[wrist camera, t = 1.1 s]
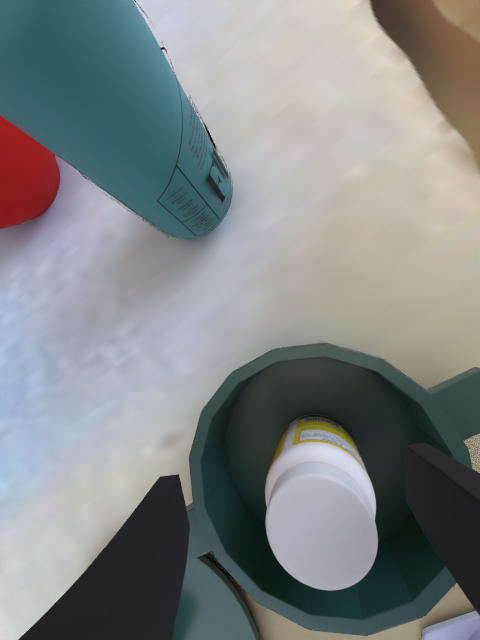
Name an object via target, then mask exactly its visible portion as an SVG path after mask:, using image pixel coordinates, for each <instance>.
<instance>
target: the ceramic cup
mask: <svg viewBox="0 0 480 640" xmlns="http://www.w3.org/2000/svg"><path fill="white" fill-rule="evenodd" d="M59 181H60V173H59V168H58V165H57V162H56V158H55V154H54V153H53V152H51V151H50V150H49V149H47V148H46V147H44V146H43V145H42V144H40V143H39V142H37V141H36V140H35V139H33V138H32V137H30V136H29V135H27V134H26V133H25V132H23V131H22V130H20V129H19V128H18V127H16V126H15V125H13V124H12V123H11V122H9V121H8V120H6V119H5V118H3V117H2V116H1V115H0V229H2V228H6V227H10V226H14V225H17V224H20V223H22V222H25V221H27V220H30V219H34V218H36V217H38V216H40V215H41V214H42V213H44V212H45V211H46V210H47V209H48V208H49V207H50V205H51V204H52V202H53V201H54V198H55V196H56V194H57V191H58V188H59Z"/></svg>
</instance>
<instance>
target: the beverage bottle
mask: <svg viewBox="0 0 480 640" xmlns="http://www.w3.org/2000/svg"><path fill="white" fill-rule="evenodd" d="M134 1H135V0H134ZM134 1H133V0H0V115H1V116H2V117H3V118H5V119H6V120H8V121H9V122H11V123H12V124H13V125H15V126H16V127H18V128H19V129H20V130H22V131H23V132H25V133H26V134H27V135H29V136H30V137H32V138H33V139H35V140H36V141H37V142H39V143H40V144H42V145H43V146H44V147H46V148H47V149H49V150H50V151H51V152H53V153H54V154H56V155H57V156H59V157H60V158H61V159H63V160H64V161H66V162H67V163H68V164H70V165H71V166H73V167H74V168H75V169H77V170H78V171H79V172H80V173H83V174H84V175H85V176H87V177H88V178H89V179H90V180H92V181H93V182H94V184H95V185H96V184H97V186H98V187H100V188H101V189H103V190H104V191H106V192H107V193H109V194H110V195H111V196H113V197H114V198H116V199H117V200H119V201H120V202H122V204H124V205H125V206H126V207H128V208H129V209H131V210H132V211H135V213H136V214H139V216H142V218H143V219H146V221H149V223H150V225H151V223H152V226H154V225H155V226H156V228H157V229H158V228H159V229H160V231H161V230H162V231H163V233H164V232H165V233H166V234H168V235H170V236H173V237H176V238H183V239H193V238H198V237H201V236H203V235H205V234H207V233H209V232H211V231H212V230H213V229H215V228H216V227H217V226H218V225H219V224H220V223H221V221H222V220H223V219H224V217H225V215H226V214H227V211H228V209H229V206H230V203H231V198H232V192H233V184H232V189H231V181H230V180H231V179H230V178H232V177H229V174H231V173H229V174H228V170H226V168H225V166H224V164H223V163H222V161H221V159H222V158H221V157H220V156H219V155H218V153H217V151H218V150H217V149H216V147H217V146H215V144H214V142H213V140H212V139H213V138H211V135H210V133H209V131H208V129H207V127H206V125H205V123H204V122H203V123H204V126H205V128H203V126H202V124H201V123H202V122H200V119H202V118H200V119H199V117H198V116H197V114H196V113H195V111H196V110H198V109H196V108H195V109H196V110H195V111H194V107H192V105H193V104H192V105H191V104H190V102H191V101H190V102H189V100H188V98H187V96H186V94H185V92H184V91H183V89H182V87H181V85H180V83H179V81H178V79H177V78H176V75H175V74H174V73H175V72H173V70H174V69H173V70H172V68H171V67H170V65H169V63H168V61H167V59H166V57H165V55H164V54H163V52H162V50H163V49H165V48H164V47H163V48H160V46H159V45H158V43H157V41H156V39H155V37H154V36H153V34H152V32H151V30H150V28H149V27H148V25H147V23H146V21H145V20H144V18H143V17H142V15H141V14H140V12H139V11H138V9H137V7H136V5H135V3H134ZM135 2H136V1H135ZM136 3H137V2H136ZM138 6H139V5H138ZM139 7H140V6H139ZM140 8H141V7H140ZM142 11H143V10H142ZM143 12H144V11H143ZM145 15H146V14H145ZM146 16H147V15H146ZM154 29H155V28H154ZM162 44H163V43H162ZM165 51H166V53H167V50H166V49H165ZM169 59H170V58H169ZM170 61H171V60H170ZM171 64H172V63H171ZM172 67H173V66H172ZM188 93H189V92H188ZM189 95H190V94H189ZM189 98H191V97H189ZM194 105H195V104H194ZM197 113H199V112H198V111H197ZM200 116H201V115H200ZM202 120H203V119H202ZM205 129H206V131H207V132H206V131H205ZM207 133H208V135H207ZM209 138H210V139H209ZM215 149H216V150H217V151H216V150H215ZM219 152H220V151H219ZM220 158H221V159H220ZM222 160H223V159H222ZM226 167H227V166H226ZM85 176H84V177H85ZM85 178H86V177H85ZM88 178H87V179H88ZM89 179H88V180H89ZM92 181H91V182H92ZM108 197H109V196H108ZM111 199H112V198H111ZM118 204H119V203H118ZM121 206H122V205H121ZM123 207H124V206H123ZM128 211H129V210H128ZM135 213H134V214H135ZM136 214H135V215H136ZM136 216H137V215H136ZM139 218H140V217H139ZM143 221H144V220H143ZM149 223H148V222H147V224H149ZM157 229H156V230H157ZM158 231H159V230H158ZM165 233H164V234H165ZM168 235H167V236H168ZM168 237H169V236H168Z"/></svg>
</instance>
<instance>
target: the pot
mask: <svg viewBox="0 0 480 640" xmlns="http://www.w3.org/2000/svg"><path fill="white" fill-rule="evenodd" d="M308 414H321V415H325V416H328V417H331V418H333V419H335V420H336V421H338V422H339V423H341V424H342V425H343V426H344V427H345V428H346V429H347V430H348V432H349V433H350V434H351V436H352V438H353V440H354V442H355V444H356V447H357V449H358V451H359V454H360V456H361V459H362V461H363V463H364V466H365V468H366V471H367V473H368V476H369V478H370V480H371V483H372V486H373V489H374V494H375V499H376V515H375V524H376V529H377V535H378V547H377V554H376V558H375V561H374V563H373V565H372V567H371V569H370V570H369V572H368V573H367V574H366V575H365V577H363V578H362V579H361V580H360V581H359V582H357V583H356V584H354V585H352V586H350V587H348V588H344V589H340V590H321V589H317V588H313V587H310V586H308V585H306V584H304V583H302V582H300V581H298V580H297V579H295V578H294V577H293V576H292V575H290V574H289V573H288V572H287V571H286V570H285V569H284V568H283V567H282V565H281V564H280V563H279V562H278V560H277V558H276V557H275V555H274V553H273V551H272V549H271V547H270V544H269V541H268V538H267V533H266V524H265V523H266V511H267V505H266V499H265V486H266V479H267V475H268V472H269V469H270V467H271V464H272V461H273V459H274V456H275V453H276V450H277V447H278V444H279V441H280V438H281V436H282V434H283V432H284V430H285V429H286V427H287V426H288V425H289V424H290V423H291V422H292V421H294V420H295V419H297V418H299V417H301V416H304V415H308ZM479 433H480V368H478V367H474V368H472V369H469V370H467V371H465V372H463V373H461V374H459V375H457V376H455V377H453V378H451V379H449V380H447V381H445V382H443V383H440V384H438V385H436V386H434V387H432V388H430V389H428V390H425V389H424V388H423V387H421V386H420V385H419V384H417V383H416V382H414V381H413V380H412V379H410V378H409V377H407V376H406V375H405V374H403V373H402V372H401V371H399V370H398V369H396V368H395V367H394V366H392V365H391V364H389V363H388V362H387V361H385V360H384V359H382V358H380V357H376V356H373V355H369V354H365V353H361V352H358V351H354V350H350V349H347V348H343V347H339V346H335V345H332V344H328V343H317V344H308V345H299V346H291V347H282V348H276V349H273V350H271V351H269V352H267V353H265V354H264V355H262V356H260V357H258V358H256V359H255V360H253V361H251V362H249V363H248V364H246V365H244V366H242V367H240V368H239V369H237V370H235V371H233V372H232V373H231V374H230V375H229V376H228V377H227V378H226V380H225V381H224V382H223V384H222V385H221V386H220V388H219V389H218V390H217V392H216V393H215V394H214V395H213V397H212V398H211V399H210V401H209V402H208V403H207V405H206V406H205V407H204V408H203V410H202V412H201V415H200V419H199V422H198V426H197V430H196V433H195V437H194V441H193V444H192V448H191V452H190V456H189V464H190V475H191V486H192V496H193V503H192V504H190V505H188V506H186V510H187V515H188V520H189V524H190V533H189V545H188V555H187V562H188V561H190V560H193V559H195V558H197V557H199V556H202V555H204V554H206V553H208V552H211V551H213V554H214V556H215V558H216V559H217V561H218V562H219V563H220V564H221V565H222V566H223V567H224V568H225V569H226V570H227V572H228V573H229V574H230V575H231V576H232V577H233V578H234V579H235V580H236V581H237V582H238V583H239V584H240V585H241V587H242V588H243V589H244V590H245V591H246V592H247V593H248V594H249V595H250V596H251V597H252V598H253V599H254V600H255V601H256V602H257V603H259V604H261V605H262V606H264V607H266V608H268V609H270V610H272V611H274V612H276V613H278V614H280V615H281V616H283V617H285V618H287V619H289V620H291V621H293V622H295V623H297V624H299V625H301V626H302V627H304V628H306V629H309V630H314V631H323V632H333V633H342V634H351V635H360V636H368V635H372V634H375V633H378V632H381V631H384V630H387V629H390V628H393V627H396V626H399V625H402V624H405V623H408V622H411V621H414V620H416V619H419V618H422V617H423V616H426V615H427V613H428V612H429V611H430V610H431V609H432V608H433V607H434V606H435V605H436V604H437V603H438V602H439V601H440V600H441V599H442V597H443V596H444V595H445V594H446V593H447V592H448V591H449V590H450V589H451V588H452V587H453V586H454V585H455V584H456V583H457V582H456V581H455V579H454V578H453V576H452V575H451V573H450V572H449V570H448V569H447V567H446V566H445V564H444V563H443V561H442V560H441V559H440V557H439V556H438V554H437V553H436V551H435V550H434V548H433V547H432V545H431V544H430V542H429V541H428V539H427V538H426V536H425V534H424V533H423V531H422V529H421V527H420V525H419V524H418V522H417V520H416V518H415V516H414V514H413V512H412V511H411V509H410V507H409V505H408V503H407V501H406V479H405V445H411V444H419V443H426V444H428V445H430V446H432V447H433V448H435V449H437V450H439V451H441V452H443V453H444V454H446V455H448V456H450V457H451V458H453V459H455V460H457V461H458V462H460V463H462V464H464V465H466V466H467V467H469V468H471V469H472V465H471V459H470V454H469V451H468V448H467V446H466V444H465V443H464V441H463V440H465V439H468V438H470V437H472V436H475V435H477V434H479Z"/></svg>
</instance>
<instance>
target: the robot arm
mask: <svg viewBox="0 0 480 640" xmlns="http://www.w3.org/2000/svg"><path fill="white" fill-rule="evenodd" d="M405 479H406V501H407V503H408V505H409V507H410V509H411V511H412V512H413V514H414V516H415V518H416V520H417V522H418V524H419V525H420V527H421V529H422V531H423V533H424V534H425V536H426V538H427V539H428V541H429V542H430V544H431V545H432V547H433V548H434V550H435V551H436V553H437V554H438V556H439V557H440V559H441V560H442V561H443V563H444V564H445V566H446V567H447V569H448V570H449V572H450V573H451V575H452V576H453V578H454V579H455V581H456V582H457V583H458V585H459V586H460V588H461V589H462V591H463V592H464V594H465V595H466V597H467V598H468V599H469V601H470V602H471V604H472V605H473V607H474V608H475V610H476V611H473V612H470V613H467V614H464V615H461V616H458V617H455V618H452V619H449V620H446V621H443V622H440V623H437V624H434V625H431V626H428V627H425V628H424V629H423V630H422V634H421V636H422V638H423V640H480V473H478V472H476V471H474V470H473V469H471V468H469V467H467V466H466V465H464V464H462V463H460V462H458V461H457V460H455V459H453V458H451V457H450V456H448V455H446V454H444V453H443V452H441V451H439V450H437V449H435V448H433V447H432V446H430V445H428V444H426V443H419V444H411V445H405ZM189 533H190V524H189V520H188V515H187V510H186V506H185V501H184V496H183V492H182V487H181V482H180V478H179V474H178V475H170V476H162V477H160V478H159V479H158V480H157V481H156V483H155V484H154V485H153V486H152V488H151V489H150V490H149V492H148V493H147V494H146V496H145V497H144V498H143V500H142V501H141V502H140V504H139V505H138V506H137V508H136V509H135V510H134V512H133V513H132V514H131V516H130V517H129V518H128V519H127V521H126V522H125V523H124V525H123V526H122V527H121V528H120V530H119V531H118V532H117V534H116V535H115V536H114V537H113V539H112V540H111V541H110V542H109V544H108V545H107V546H106V547H105V548H104V549H103V551H102V552H101V553H100V554H99V555H98V557H97V558H96V559H95V560H94V561H93V562H92V564H91V565H90V566H89V567H88V568H87V570H86V571H85V572H84V573H83V574H82V575H81V576H80V577H79V579H78V580H77V581H76V582H75V583H74V584H73V585H72V586H71V587H70V588H69V589H68V591H67V592H66V593H65V594H64V595H63V596H62V597H61V598H60V599H59V600H58V601H57V602H56V603H55V604H54V605H53V606H52V607H51V608H50V609H49V610H48V611H47V612H46V613H45V614H44V615H43V616H42V617H41V618H40V619H39V620H38V621H37V622H36V623H35V624H34V625H33V626H32V627H31V628H30V629H29V630H28V631H27V632H26V633H25V634H24V635H23V636H22V637H21V638H20V639H19V640H172V636H173V631H174V626H175V621H176V616H177V611H178V606H179V601H180V596H181V591H182V585H183V580H184V575H185V570H186V564H187V555H188V545H189Z"/></svg>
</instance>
